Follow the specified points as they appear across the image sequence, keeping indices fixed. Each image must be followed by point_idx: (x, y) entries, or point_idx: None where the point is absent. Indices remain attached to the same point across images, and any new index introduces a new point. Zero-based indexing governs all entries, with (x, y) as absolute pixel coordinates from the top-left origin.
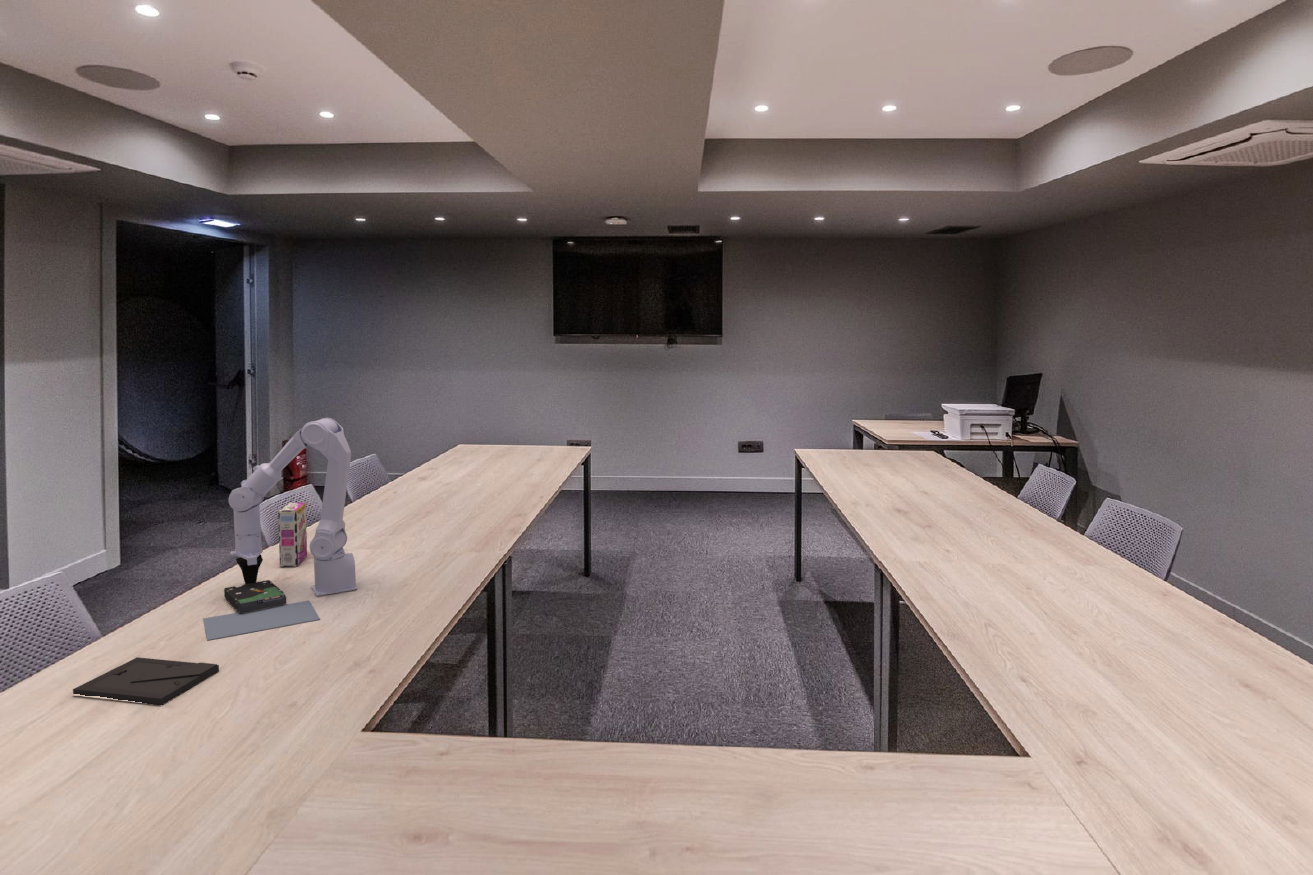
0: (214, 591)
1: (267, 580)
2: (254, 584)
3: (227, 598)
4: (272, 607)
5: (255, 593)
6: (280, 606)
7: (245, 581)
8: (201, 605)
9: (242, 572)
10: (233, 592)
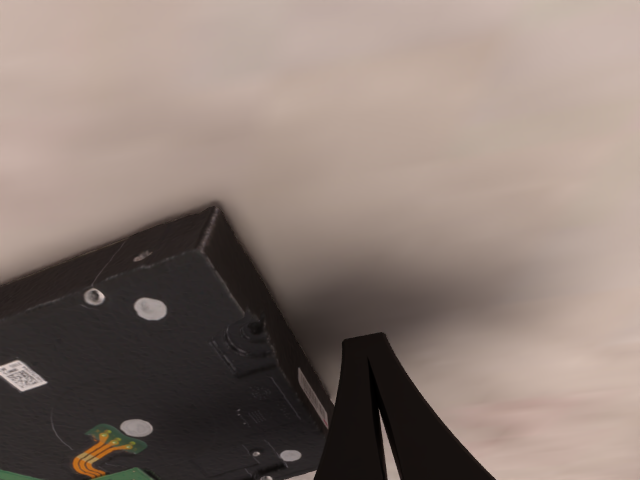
0: (466, 74)
1: None
2: (258, 419)
3: (108, 251)
4: None
5: (18, 457)
6: None
7: (340, 374)
8: (33, 21)
9: (319, 467)
10: (43, 342)
